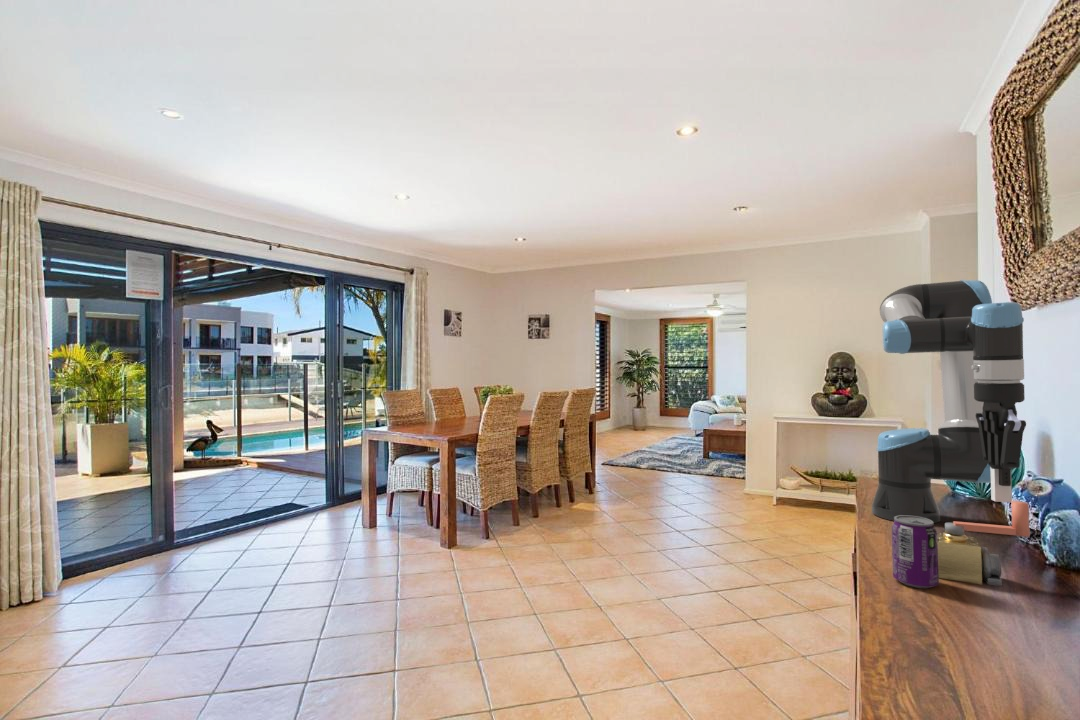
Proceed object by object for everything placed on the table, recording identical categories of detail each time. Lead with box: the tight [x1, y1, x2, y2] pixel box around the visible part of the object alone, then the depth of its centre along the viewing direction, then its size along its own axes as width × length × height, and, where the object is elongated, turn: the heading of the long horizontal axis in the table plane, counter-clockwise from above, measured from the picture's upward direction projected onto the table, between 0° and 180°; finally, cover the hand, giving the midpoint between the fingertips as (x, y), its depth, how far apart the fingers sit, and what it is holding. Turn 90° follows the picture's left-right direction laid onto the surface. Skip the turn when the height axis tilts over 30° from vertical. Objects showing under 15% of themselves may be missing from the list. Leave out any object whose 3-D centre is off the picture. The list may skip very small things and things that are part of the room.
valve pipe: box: [937, 531, 1003, 587], centre depth 103 cm, size 6×13×8 cm, turn 58°
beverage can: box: [891, 515, 940, 589], centre depth 100 cm, size 7×7×12 cm
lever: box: [944, 500, 1031, 538], centre depth 101 cm, size 13×3×7 cm, turn 64°
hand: (1001, 500), depth 104 cm, fingers closed
